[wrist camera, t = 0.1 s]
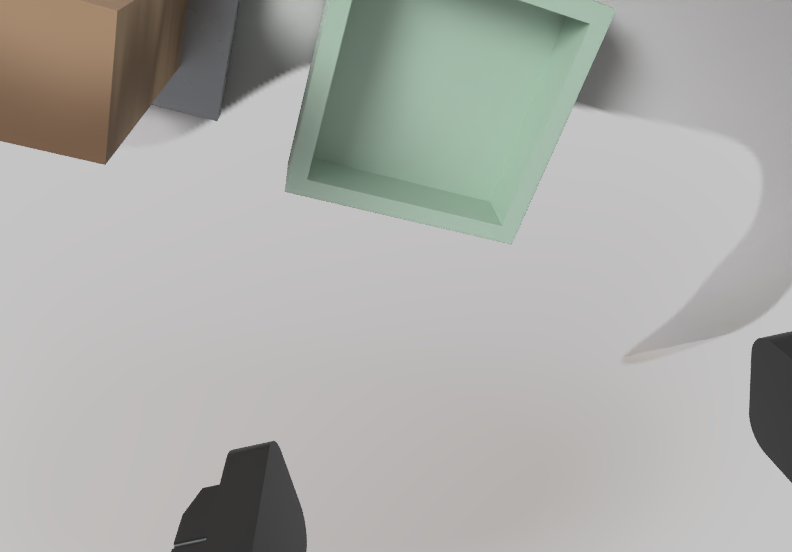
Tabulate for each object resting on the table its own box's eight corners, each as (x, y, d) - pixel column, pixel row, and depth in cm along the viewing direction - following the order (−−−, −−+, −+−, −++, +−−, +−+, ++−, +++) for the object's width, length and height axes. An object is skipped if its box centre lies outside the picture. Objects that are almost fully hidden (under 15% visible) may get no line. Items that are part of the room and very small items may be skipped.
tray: (345, -87, 26) (349, -83, 23) (585, -5, 28) (616, 9, 25) (288, 162, 31) (284, 191, 28) (494, 212, 33) (511, 244, 30)
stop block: (79, -72, 24) (-73, -43, 15) (192, -37, 25) (117, 10, 16) (73, 39, 26) (-64, 126, 17) (179, 67, 27) (105, 164, 18)
